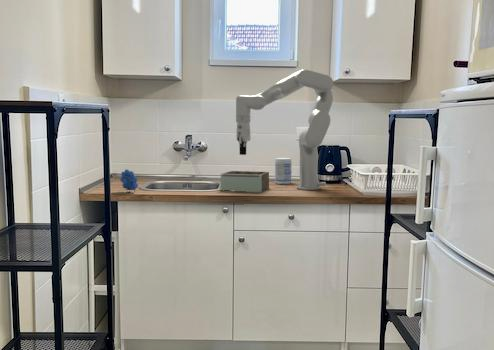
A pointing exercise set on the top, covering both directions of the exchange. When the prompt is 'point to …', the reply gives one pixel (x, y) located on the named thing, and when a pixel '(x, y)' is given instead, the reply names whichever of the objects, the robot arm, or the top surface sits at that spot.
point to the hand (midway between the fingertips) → (242, 154)
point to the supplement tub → (283, 170)
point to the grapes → (129, 180)
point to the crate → (264, 174)
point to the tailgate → (241, 182)
